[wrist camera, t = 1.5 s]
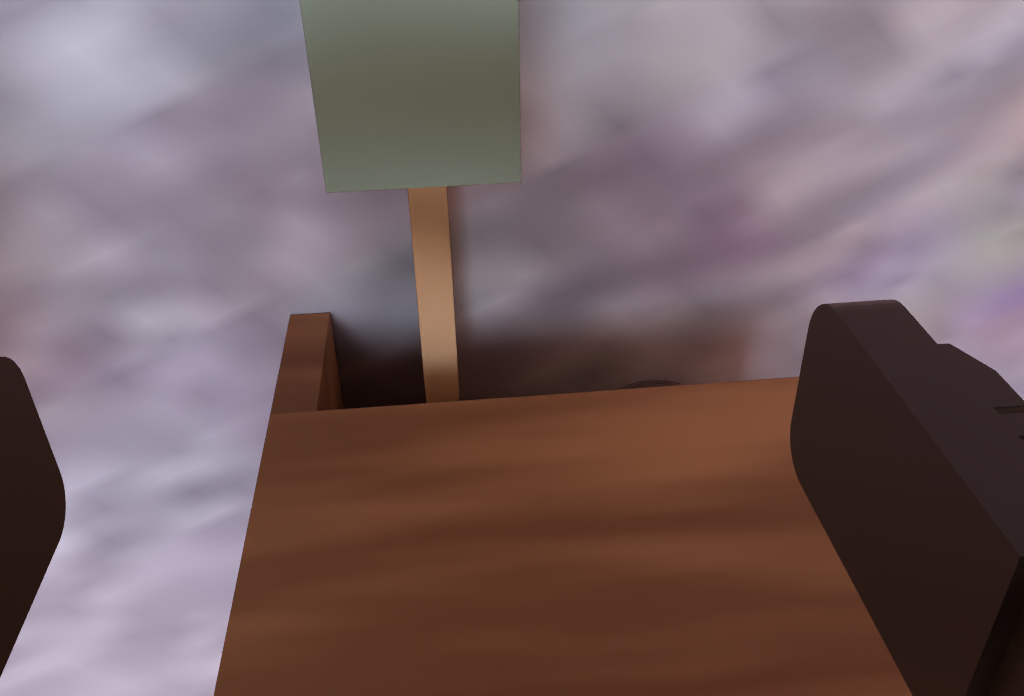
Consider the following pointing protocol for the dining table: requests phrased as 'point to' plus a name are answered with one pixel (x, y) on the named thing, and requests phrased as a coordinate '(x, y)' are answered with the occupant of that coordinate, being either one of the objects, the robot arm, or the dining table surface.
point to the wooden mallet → (418, 125)
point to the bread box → (539, 548)
